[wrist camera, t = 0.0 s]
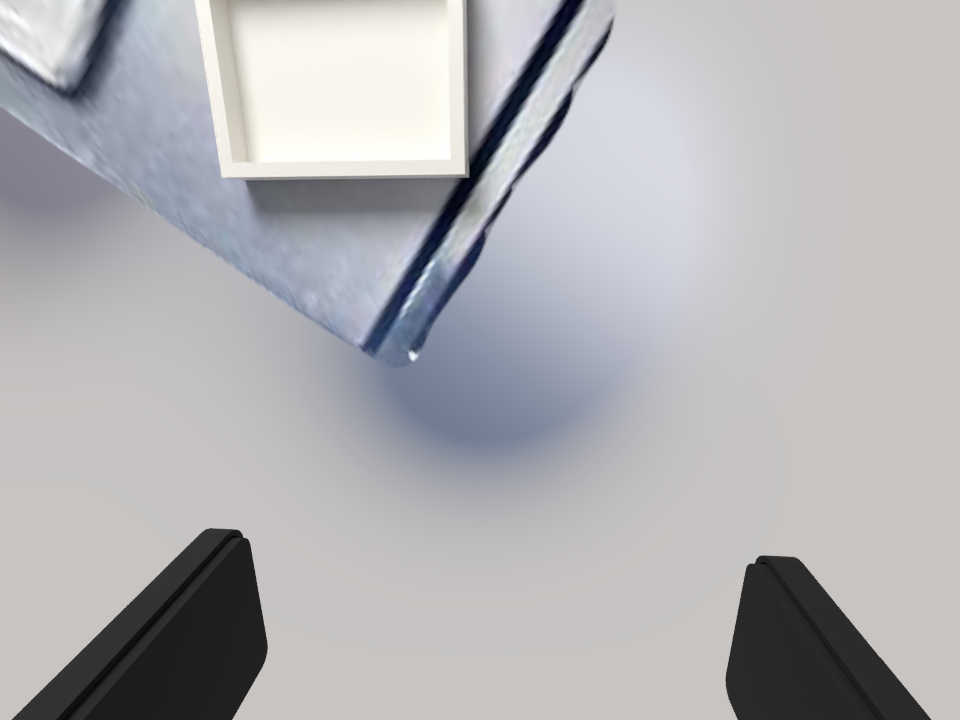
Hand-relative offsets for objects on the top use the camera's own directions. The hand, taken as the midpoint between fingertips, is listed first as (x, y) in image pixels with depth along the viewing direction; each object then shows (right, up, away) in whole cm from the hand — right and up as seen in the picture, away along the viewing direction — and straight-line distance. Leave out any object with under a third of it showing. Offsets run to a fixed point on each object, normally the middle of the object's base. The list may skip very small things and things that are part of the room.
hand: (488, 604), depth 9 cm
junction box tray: (-10, +26, +26) cm, 38 cm away
